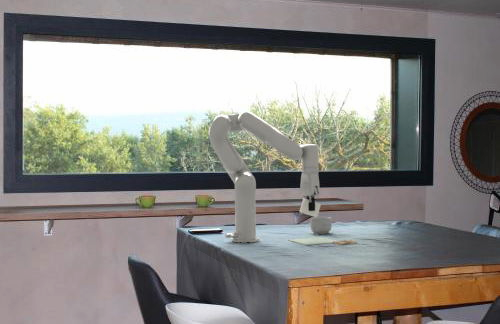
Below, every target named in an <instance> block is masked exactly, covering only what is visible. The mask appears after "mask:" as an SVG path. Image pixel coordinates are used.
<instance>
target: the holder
mask: <svg viewBox="0 0 500 324" xmlns="http://www.w3.org/2000/svg"><path fill="white" fill-rule="evenodd" d="M332 244H335V245H337V246H341V245H353V244H358V240H353V239H347V240H346V239H343V240H336V241H333V243H332Z"/></svg>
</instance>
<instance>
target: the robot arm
mask: <svg viewBox="0 0 500 324" xmlns="http://www.w3.org/2000/svg"><path fill="white" fill-rule="evenodd" d="M243 131H246V132H247V133H248V134H250V135H251V136H253V137H254V138H257V139H258V140H259V141H261V142H262V143H263V144H265V145H267V146H270V147H271V148H274V150H276V151H278V152H279V153H281V154H282V155H284V156H285V157H286V158H287V159H289V160H291V161H298V160H301V176H300V183H299V185H300V188H299V192H300V193H299V194H300V195H301V196H302V197H303V198H305V199H308V200H309V211H315V202H317V199H319V194H320V179H319V146H318V144H315V143H305V144H299V143H297V142H296V141H294V140H293V139H291V138H289V137H288V136H286V135H285V134H283V133H282V132H280V130H279V129H277V128H275V127H274V126H272V125H271V124H269V123H268V122H266V121H265V120H264V119H262V118H261V117H259V116H257V115H256V114H255V113H253V112H252V111H249V110H245V111H243V112H239V113H234V114H226V115H225V114H219V115H217V116H216V117H215V118H214V119H213V120H212V122H211V124H210V126H209V129H208V137H209V143H210V144H211V147H212V149H213V150H214V152H215V154H216V155H217V157H218V159H219V161H220V162H221V164H222V167H223V168H224V170H225V171H226V173H227V174H228V176H229V178H230V179H231V181H232V182H233V184H234V230H233V231H232V232H231V233H230V232H229V233H225V238H226V239H228V238H231V242H234V243H240V242H241V243H244V244H245V243H247V242H250V243H257V242H259V241H260V238H259V237H257V235H256V234H257V232H256V230H257V228H256V227H257V223H256V222H257V220H256V219H257V216H256V215H257V211H256V210H257V209H256V207H257V205H256V195H257V194H256V189H257V183H256V178H255V176H254V175H253V174H252V172H251V170H250V168H249V167H248V165H247V164H246V162H245V160H244V159H243V157H242V156H241V155H240V153H239V152H238V151H237V149H235V147H234V145H233V143H232V142H231V140H230V138H229V134H228V133H236V132H243Z"/></svg>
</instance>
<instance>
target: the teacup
mask: <svg viewBox="0 0 500 324" xmlns="http://www.w3.org/2000/svg"><path fill="white" fill-rule="evenodd" d="M309 225H310V230H311V232H313V233H314V235H326V234H328V233H329V232H330V231H332V226H333V225H332V217H331V216H318V217H311V218H309Z"/></svg>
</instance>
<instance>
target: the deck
mask: <svg viewBox="0 0 500 324" xmlns="http://www.w3.org/2000/svg"><path fill="white" fill-rule="evenodd" d="M321 206H322V203H319V202H317V201H316V202H315V211H309V200H308V199H305V198H304V197H303V198H302V202H301V205H300V208H299V210H298V211H299V213H301V214H304V215H308V216H310V217H312V218H315V217H319V212H320V208H321Z"/></svg>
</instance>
